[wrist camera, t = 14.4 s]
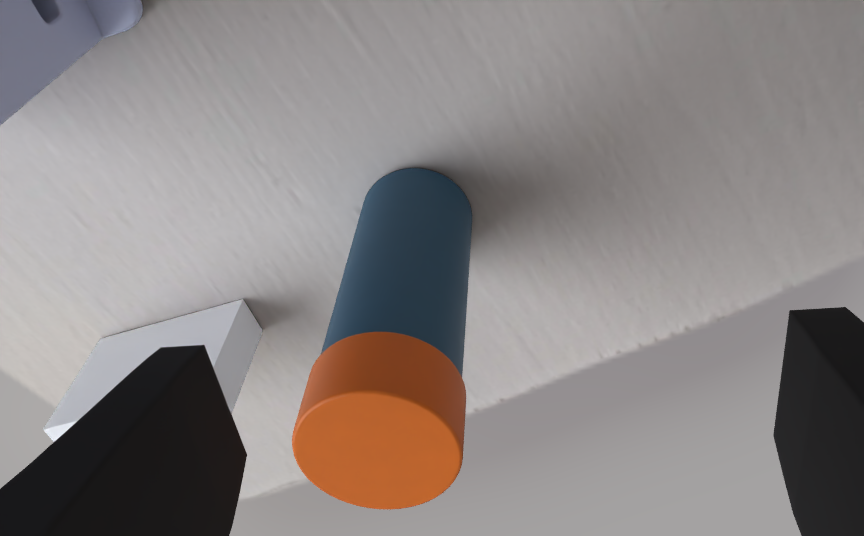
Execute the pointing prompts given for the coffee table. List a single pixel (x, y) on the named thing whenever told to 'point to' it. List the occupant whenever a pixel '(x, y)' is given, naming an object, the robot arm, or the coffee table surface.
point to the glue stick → (393, 351)
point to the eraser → (120, 354)
